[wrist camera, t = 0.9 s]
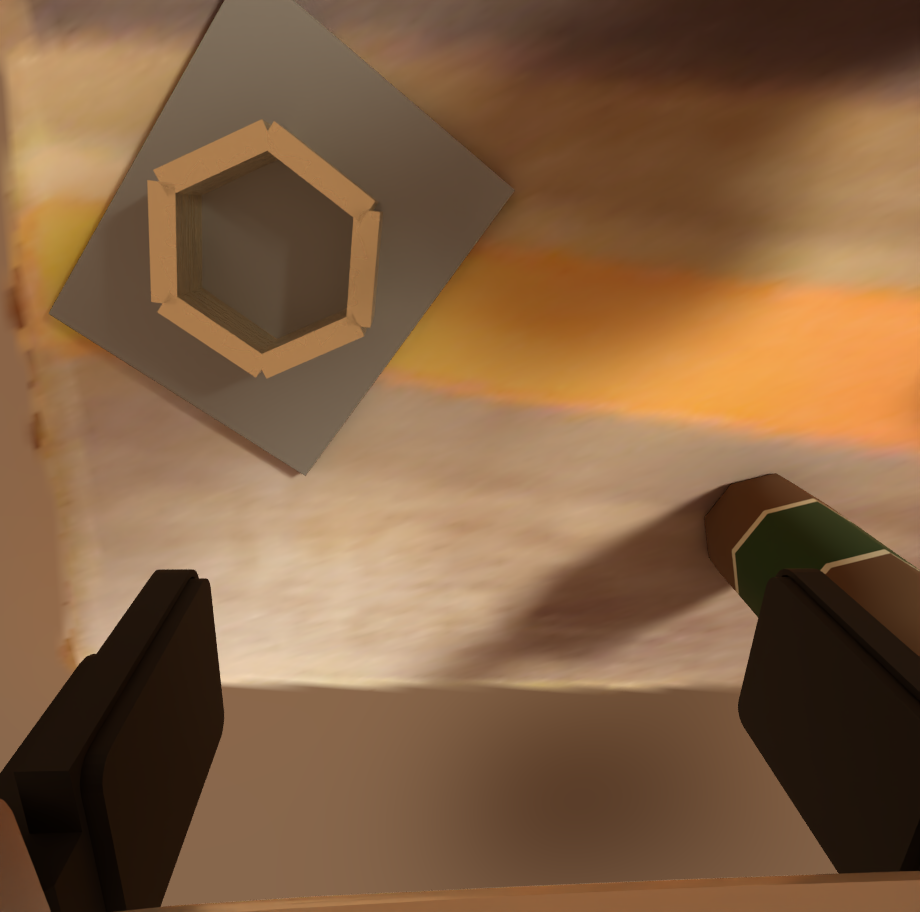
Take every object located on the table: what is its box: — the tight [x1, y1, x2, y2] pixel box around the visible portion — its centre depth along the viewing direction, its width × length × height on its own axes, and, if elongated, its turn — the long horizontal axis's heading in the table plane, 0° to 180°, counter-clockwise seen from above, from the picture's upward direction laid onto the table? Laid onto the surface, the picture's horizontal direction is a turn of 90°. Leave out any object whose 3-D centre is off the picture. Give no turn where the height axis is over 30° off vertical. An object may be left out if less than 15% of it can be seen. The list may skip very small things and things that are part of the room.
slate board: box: [49, 0, 515, 476], centre depth 35 cm, size 20×16×1 cm
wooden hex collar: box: [147, 119, 383, 379], centre depth 33 cm, size 10×12×4 cm
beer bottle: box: [704, 474, 920, 657], centre depth 32 cm, size 8×8×24 cm
